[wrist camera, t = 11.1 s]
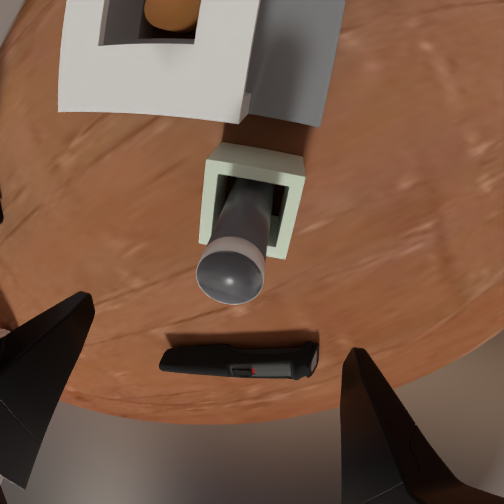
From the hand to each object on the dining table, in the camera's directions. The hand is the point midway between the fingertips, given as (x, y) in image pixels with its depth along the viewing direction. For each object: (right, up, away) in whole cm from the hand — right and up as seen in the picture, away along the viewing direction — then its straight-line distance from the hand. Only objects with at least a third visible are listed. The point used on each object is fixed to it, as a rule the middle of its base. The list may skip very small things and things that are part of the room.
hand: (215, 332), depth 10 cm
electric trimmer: (0, -7, +21) cm, 22 cm away
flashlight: (+1, +7, +11) cm, 13 cm away
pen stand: (+1, +7, +11) cm, 13 cm away
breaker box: (-1, +17, +5) cm, 17 cm away
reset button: (-3, +18, +5) cm, 18 cm away
